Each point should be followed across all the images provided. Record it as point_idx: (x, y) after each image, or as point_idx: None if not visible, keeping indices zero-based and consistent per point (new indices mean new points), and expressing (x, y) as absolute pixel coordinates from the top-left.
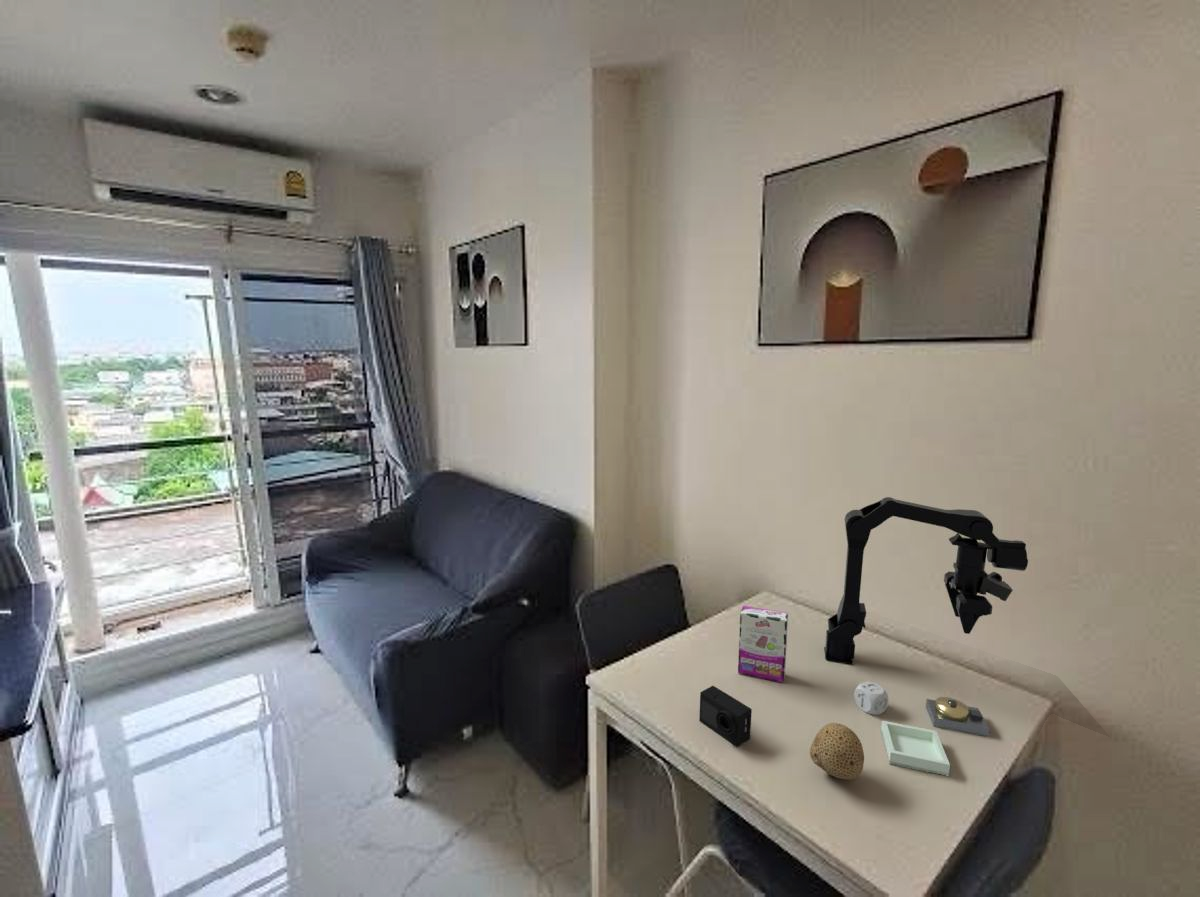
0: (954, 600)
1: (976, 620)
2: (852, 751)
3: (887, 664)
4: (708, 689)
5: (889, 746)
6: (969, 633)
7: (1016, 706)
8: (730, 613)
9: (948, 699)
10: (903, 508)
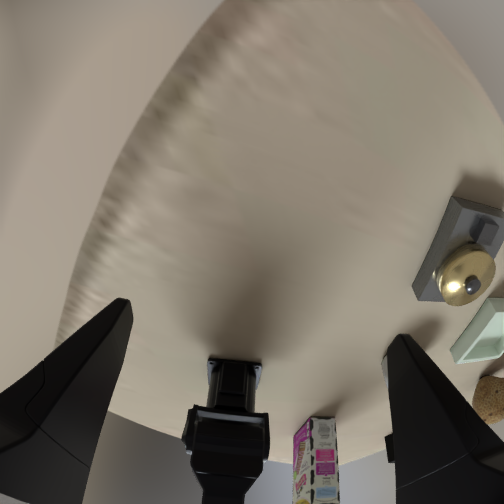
0: (92, 432)
1: (482, 422)
2: None
3: (236, 311)
4: (394, 462)
5: (492, 358)
6: (409, 336)
7: (405, 54)
8: (152, 428)
9: (453, 282)
10: None
